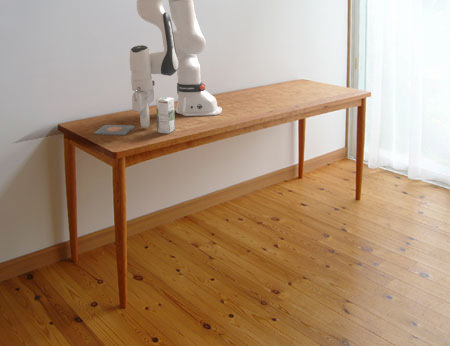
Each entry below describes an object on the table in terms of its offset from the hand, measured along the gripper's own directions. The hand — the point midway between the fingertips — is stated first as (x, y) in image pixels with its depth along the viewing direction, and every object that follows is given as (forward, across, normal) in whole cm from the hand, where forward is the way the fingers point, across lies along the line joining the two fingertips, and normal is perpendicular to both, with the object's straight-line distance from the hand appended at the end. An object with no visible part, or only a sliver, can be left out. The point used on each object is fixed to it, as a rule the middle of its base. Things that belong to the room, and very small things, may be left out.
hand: (144, 116), depth 238 cm
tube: (+4, 0, 0) cm, 4 cm away
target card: (+5, -4, +13) cm, 14 cm away
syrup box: (+6, -3, -10) cm, 12 cm away
